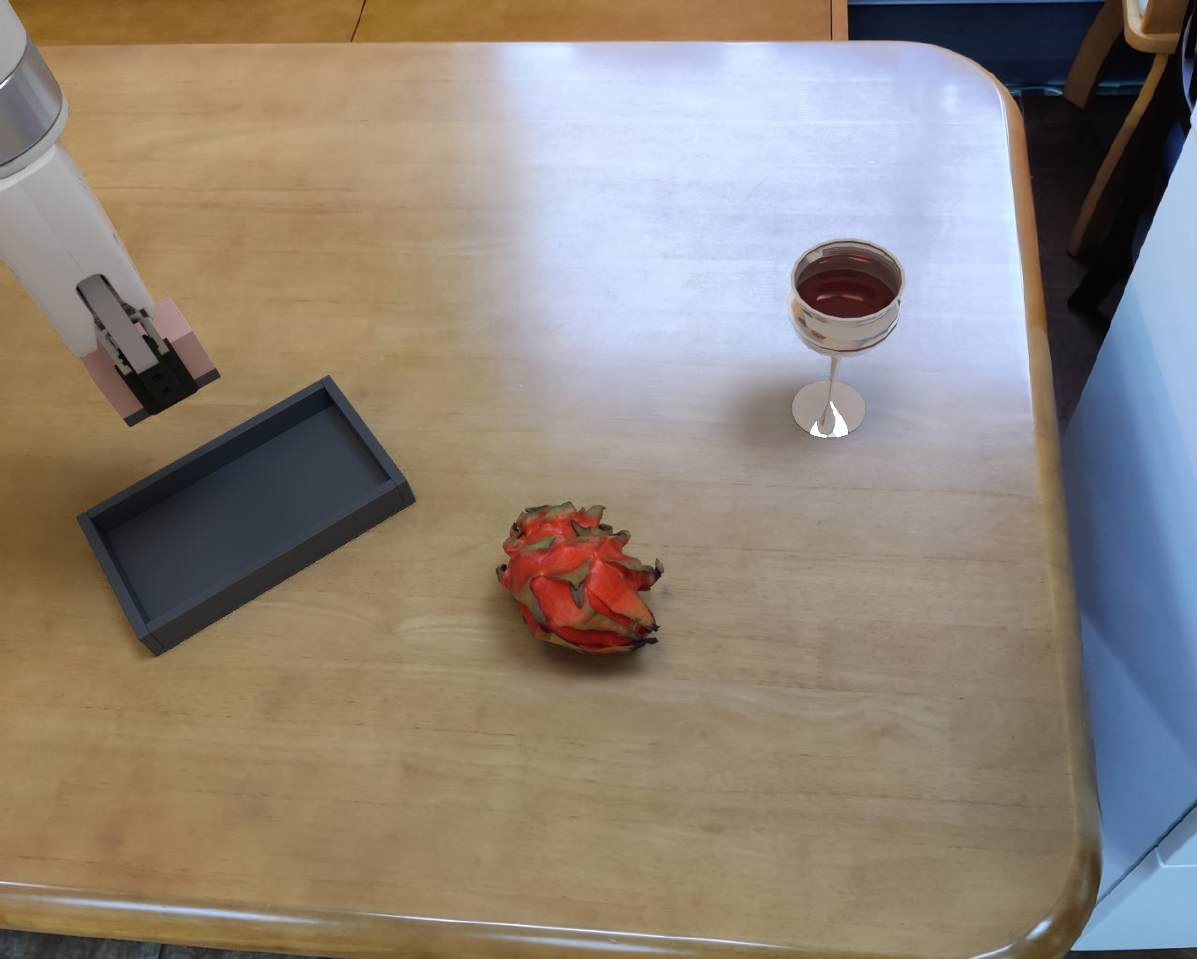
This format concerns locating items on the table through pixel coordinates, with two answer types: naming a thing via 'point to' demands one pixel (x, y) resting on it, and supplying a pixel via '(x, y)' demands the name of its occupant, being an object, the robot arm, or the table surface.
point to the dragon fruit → (578, 580)
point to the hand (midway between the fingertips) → (158, 376)
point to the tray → (242, 514)
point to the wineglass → (841, 322)
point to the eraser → (166, 325)
